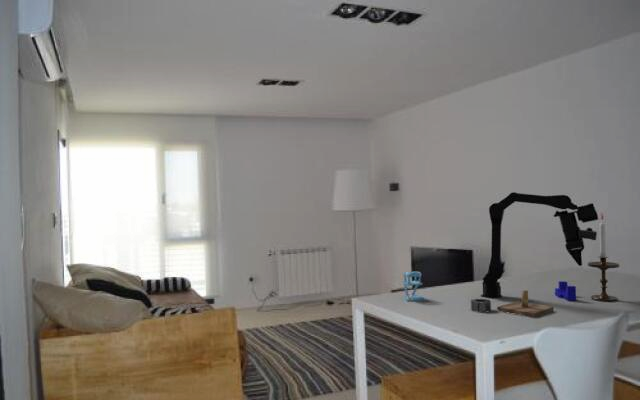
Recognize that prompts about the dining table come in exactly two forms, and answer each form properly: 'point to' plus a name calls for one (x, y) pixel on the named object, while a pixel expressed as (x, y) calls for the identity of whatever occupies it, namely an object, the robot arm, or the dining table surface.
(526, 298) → the post block
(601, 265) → the candlestick
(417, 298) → the chair
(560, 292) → the cable clip
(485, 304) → the ring
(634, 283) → the dining table surface
